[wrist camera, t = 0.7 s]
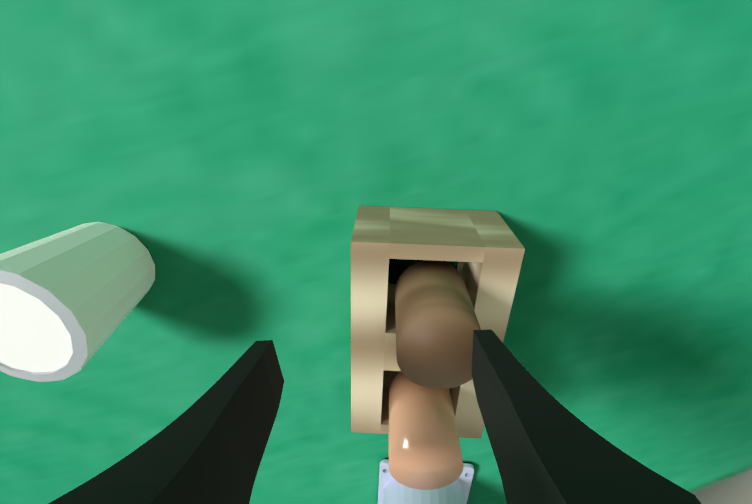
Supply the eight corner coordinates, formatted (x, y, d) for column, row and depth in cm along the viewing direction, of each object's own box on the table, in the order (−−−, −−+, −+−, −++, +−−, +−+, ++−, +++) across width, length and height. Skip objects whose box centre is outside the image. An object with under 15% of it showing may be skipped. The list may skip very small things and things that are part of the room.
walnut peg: (460, 320, 20) (479, 390, 15) (393, 317, 20) (394, 386, 15) (469, 261, 18) (494, 321, 14) (396, 258, 18) (399, 317, 14)
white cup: (40, 208, 22) (-97, 262, 16) (154, 216, 22) (60, 274, 16) (74, 302, 25) (-30, 378, 19) (174, 309, 25) (102, 388, 19)
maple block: (465, 377, 27) (480, 438, 23) (357, 372, 27) (351, 431, 23) (496, 211, 21) (525, 248, 17) (359, 205, 21) (350, 241, 17)
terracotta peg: (445, 412, 23) (458, 491, 18) (387, 409, 23) (387, 487, 19) (452, 368, 21) (468, 444, 17) (390, 365, 21) (390, 440, 17)
